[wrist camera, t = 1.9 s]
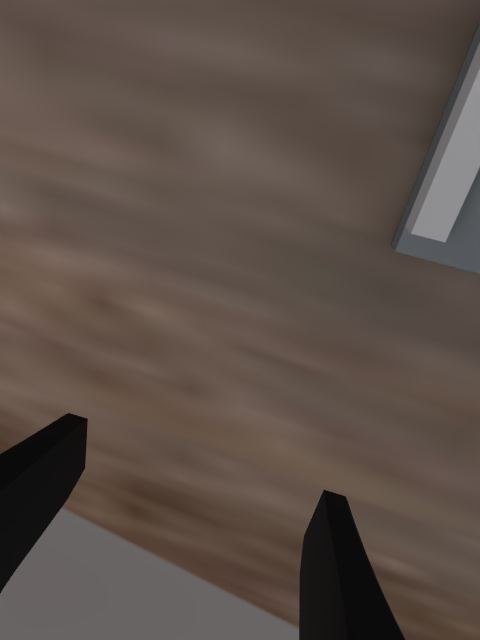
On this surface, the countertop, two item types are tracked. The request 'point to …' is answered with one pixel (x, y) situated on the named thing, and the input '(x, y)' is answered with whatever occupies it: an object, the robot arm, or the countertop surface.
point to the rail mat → (449, 181)
